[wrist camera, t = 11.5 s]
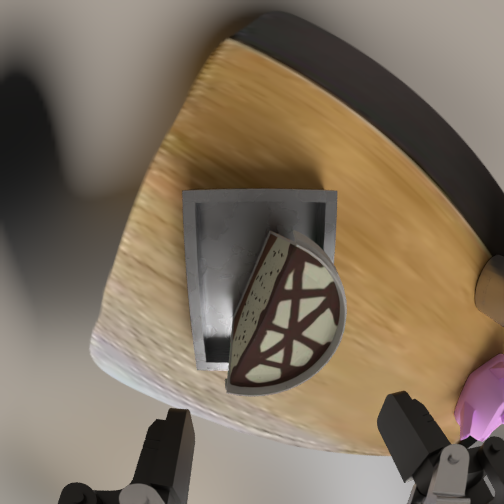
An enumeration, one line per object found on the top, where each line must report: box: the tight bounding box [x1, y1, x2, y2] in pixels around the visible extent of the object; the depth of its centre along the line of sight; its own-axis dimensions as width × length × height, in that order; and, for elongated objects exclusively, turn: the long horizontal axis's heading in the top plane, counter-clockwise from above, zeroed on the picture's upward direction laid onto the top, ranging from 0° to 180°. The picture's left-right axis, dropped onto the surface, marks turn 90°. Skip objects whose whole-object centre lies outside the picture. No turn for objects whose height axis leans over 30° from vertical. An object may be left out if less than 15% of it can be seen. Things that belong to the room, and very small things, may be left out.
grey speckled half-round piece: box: [225, 230, 347, 396], centre depth 21 cm, size 12×6×10 cm, turn 158°
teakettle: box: [454, 354, 504, 442], centre depth 29 cm, size 17×17×12 cm
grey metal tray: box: [182, 188, 337, 371], centre depth 25 cm, size 12×17×4 cm
